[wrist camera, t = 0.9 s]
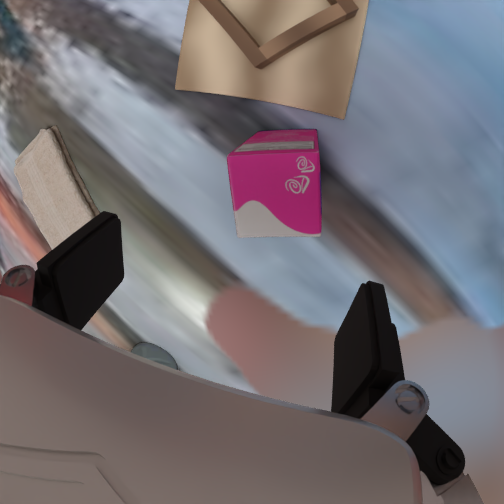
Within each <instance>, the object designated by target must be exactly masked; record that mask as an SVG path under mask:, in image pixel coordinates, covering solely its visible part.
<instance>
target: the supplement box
mask: <svg viewBox="0 0 504 504" xmlns="http://www.w3.org/2000/svg"><path fill="white" fill-rule="evenodd" d="M227 164H228V173H229V180H230V189H231V196H232V203H233V210H234V216H235V223H236V230H237V236H238V237H239V238H241V237H320V236H321V218H322V202H321V173H320V157H319V146H318V136H317V130H316V129H289V130H269V131H259V132H257V133H256V134H255V135H253V136H252V137H251V138H249V139H248V140H247V141H245V142H244V143H243V144H242V145H240V146H239V147H238V148H236V149H235V150H234V151H232V152H231V153H230V154H228V156H227Z"/></svg>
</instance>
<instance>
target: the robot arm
mask: <svg viewBox="0 0 504 504" xmlns="http://www.w3.org/2000/svg"><path fill="white" fill-rule="evenodd" d="M37 267H38V270H36V271H35V270H34V269H33V268H32V267H31V266H28V265H19V266H15V267H13V268H11V269H9V270H8V271H7V272H6V273H5V274H4V275H3V278H2V281H1V284H0V504H484V503H483V501H482V499H481V497H480V495H479V493H478V491H477V489H476V487H475V485H474V483H473V482H472V480H471V478H470V476H469V474H467V475H464V473H463V470H464V467H465V458H464V454H463V452H462V450H461V448H460V447H459V446H458V445H457V444H456V443H455V442H454V441H453V440H452V439H451V438H450V437H449V436H448V435H447V434H446V433H445V432H444V431H443V430H442V429H441V428H440V427H439V426H438V425H437V424H436V423H435V422H434V421H433V420H432V419H431V418H430V417H429V416H428V415H427V414H426V413H427V411H428V409H429V399H428V396H427V394H426V392H425V391H424V390H423V388H422V387H421V386H419V385H418V384H416V383H415V382H412V381H408V380H405V377H404V370H403V364H402V358H401V352H400V346H399V341H398V335H397V330H396V327H395V325H394V324H393V323H391V318H390V313H389V308H388V303H387V298H386V293H385V289H384V285H383V284H379V283H376V282H372V281H368V282H367V283H366V284H364V283H362V284H361V286H360V288H359V290H358V292H357V294H356V296H355V298H354V300H353V302H352V305H351V307H350V309H349V311H348V313H347V315H346V317H345V319H344V321H343V323H342V325H341V327H340V329H339V331H338V333H337V335H336V338H335V342H334V371H333V391H332V407H331V412H330V411H325V410H320V409H316V408H311V407H307V406H302V405H298V404H293V403H289V402H285V401H281V400H277V399H273V398H269V397H265V396H261V395H257V394H254V393H250V392H246V391H243V390H239V389H235V388H232V387H229V386H225V385H222V384H219V383H215V382H212V381H209V380H206V379H203V378H200V377H197V376H194V375H191V374H188V373H185V372H182V371H179V370H176V369H173V368H170V367H168V366H165V365H162V364H159V363H157V362H154V361H151V360H149V359H146V358H144V357H141V356H139V355H136V354H134V353H131V352H129V351H126V350H124V349H121V348H119V347H117V346H114V345H112V344H110V343H107V342H105V341H103V340H101V339H98V338H96V337H94V336H92V335H89V334H87V333H85V332H83V331H81V330H82V329H83V327H84V326H85V325H86V324H87V322H88V321H89V320H90V319H91V317H92V316H93V315H94V314H95V313H96V311H97V310H98V309H99V308H100V307H101V305H102V304H103V303H104V302H105V301H106V300H107V298H108V297H109V296H110V295H111V294H112V293H113V291H114V290H115V289H116V288H117V287H118V286H119V284H120V283H121V282H122V280H123V278H124V265H123V252H122V237H121V221H120V219H118V216H117V215H116V214H113V213H109V212H106V211H103V212H101V213H100V214H98V215H97V216H96V217H94V218H93V219H92V220H90V221H89V222H87V223H86V224H85V225H83V226H82V227H81V228H79V229H78V230H77V231H76V232H74V233H73V234H72V235H70V236H69V237H68V238H67V239H65V240H64V241H63V242H61V243H60V244H59V245H58V246H56V247H55V248H54V249H53V250H52V251H50V252H49V253H48V254H47V255H45V256H44V257H43V258H42V259H41V260H40V261H38V262H37Z"/></svg>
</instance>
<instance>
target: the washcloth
mask: <svg viewBox="0 0 504 504" xmlns="http://www.w3.org/2000/svg"><path fill="white" fill-rule="evenodd" d="M15 164H16V166H15V168H14V173H15V175H16V177H17V180H18V182H19V185H20V187H21V190H22V193H23V201H24V203H25V204H26V205H27V206H28V208H29V210H30V212H31V213H32V215H33V217H34V219H35V221H36V223H37V226H38V227H39V229H40V231H41V232H42V234H43V235H44V237H45V238H46V240H47V242H48V243H49V245H50V247H51V248H52V250H53V249H54V248H55V247H56V246H58V245H59V244H60V243H61V242H63V241H64V240H65V239H67V238H68V237H69V236H70V235H72V234H73V233H74V232H76V231H77V230H78V229H79V228H81V227H82V226H83V225H85V224H86V223H87V222H89V221H90V220H92V219H93V218H94V217H96V216H97V215H98V214H100V212H99V211H98V209H97V208H96V206H95V204H94V203H93V201H92V199H91V196H90V194H89V192H88V190H87V189H86V187H85V184H84V183H83V182H82V179H81V178H80V176H79V174H78V172H77V171H76V168H75V166H74V163H73V162H72V161H71V158H70V156H69V153H68V151H67V148H66V146H65V144H64V142H63V139H62V137H61V134H60V132H59V129H58V127H57V125H55V126H53V127H51V128H49V129H47V130H46V129H40V132H39V134H38V135H37V137H36V138H35V139H34V140H33V141H32V142H31V143H30V144H29V145H28V146H27V147H26V149H25V150H24V151H23V152H22V153H21V154H20V155H19V157H18V158H17V159H16V160H15Z"/></svg>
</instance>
